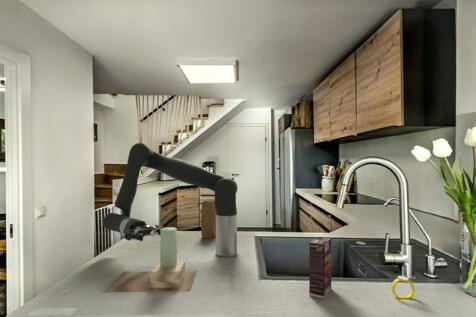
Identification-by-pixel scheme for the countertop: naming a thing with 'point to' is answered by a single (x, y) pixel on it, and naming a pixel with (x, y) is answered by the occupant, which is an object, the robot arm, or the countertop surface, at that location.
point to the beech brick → (168, 276)
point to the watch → (403, 279)
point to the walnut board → (146, 283)
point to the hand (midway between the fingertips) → (153, 235)
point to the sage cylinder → (168, 248)
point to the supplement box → (320, 267)
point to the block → (208, 219)
